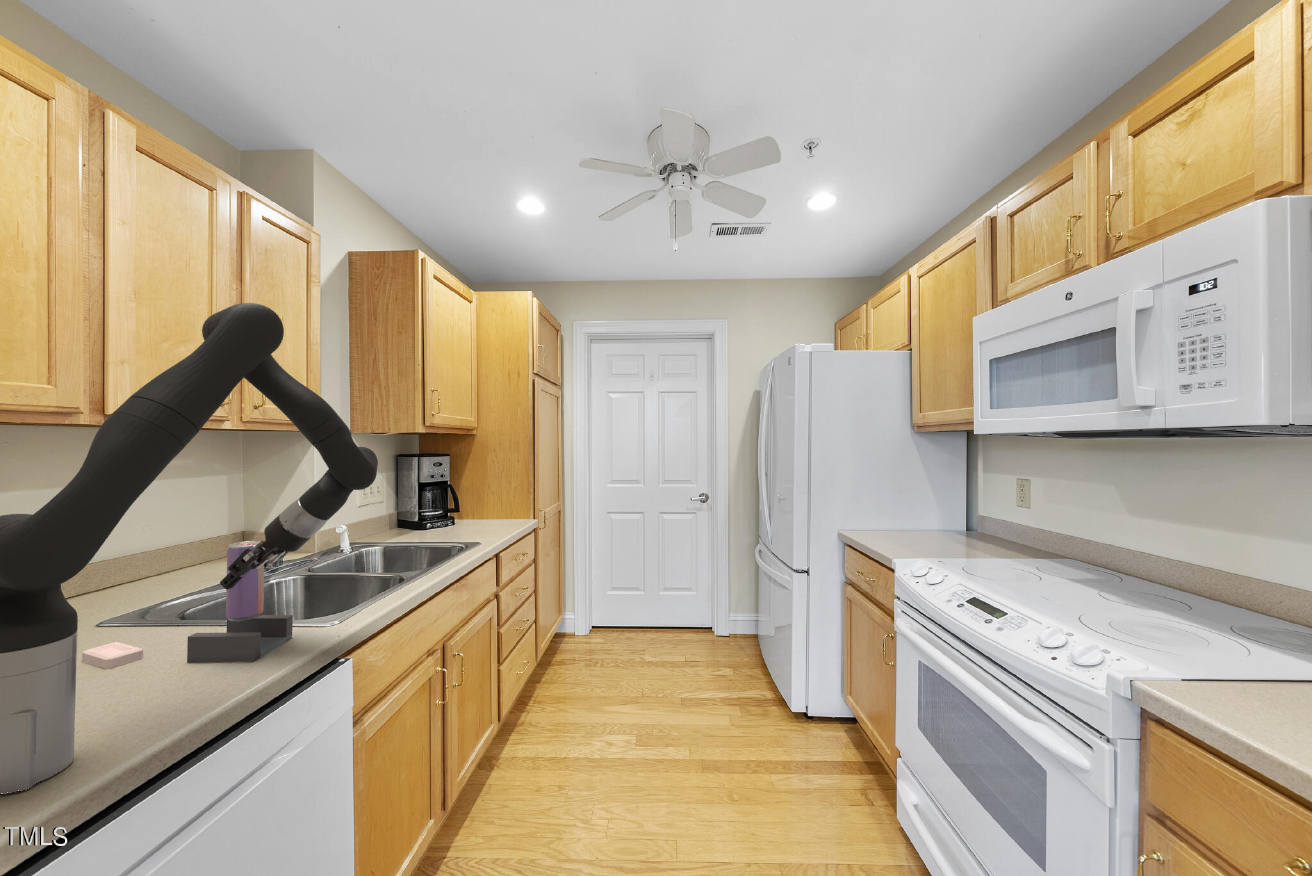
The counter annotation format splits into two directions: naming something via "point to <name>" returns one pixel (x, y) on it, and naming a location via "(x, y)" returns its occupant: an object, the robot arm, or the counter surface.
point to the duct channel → (241, 640)
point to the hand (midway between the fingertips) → (236, 581)
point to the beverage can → (244, 587)
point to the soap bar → (112, 655)
